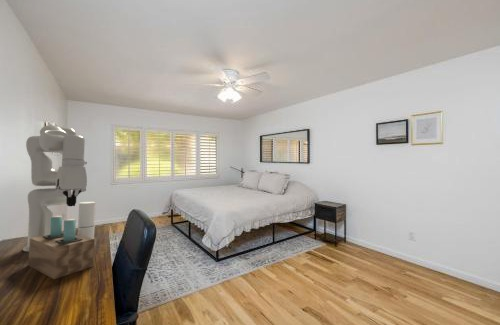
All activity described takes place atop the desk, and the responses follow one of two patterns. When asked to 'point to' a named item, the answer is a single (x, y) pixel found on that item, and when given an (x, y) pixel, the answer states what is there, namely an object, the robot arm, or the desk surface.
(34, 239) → the walnut block
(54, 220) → the peg
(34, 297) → the desk surface
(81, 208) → the cylindrical container
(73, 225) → the peg
